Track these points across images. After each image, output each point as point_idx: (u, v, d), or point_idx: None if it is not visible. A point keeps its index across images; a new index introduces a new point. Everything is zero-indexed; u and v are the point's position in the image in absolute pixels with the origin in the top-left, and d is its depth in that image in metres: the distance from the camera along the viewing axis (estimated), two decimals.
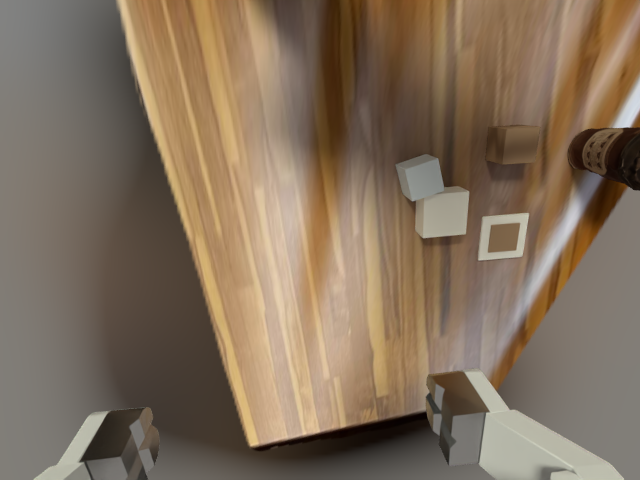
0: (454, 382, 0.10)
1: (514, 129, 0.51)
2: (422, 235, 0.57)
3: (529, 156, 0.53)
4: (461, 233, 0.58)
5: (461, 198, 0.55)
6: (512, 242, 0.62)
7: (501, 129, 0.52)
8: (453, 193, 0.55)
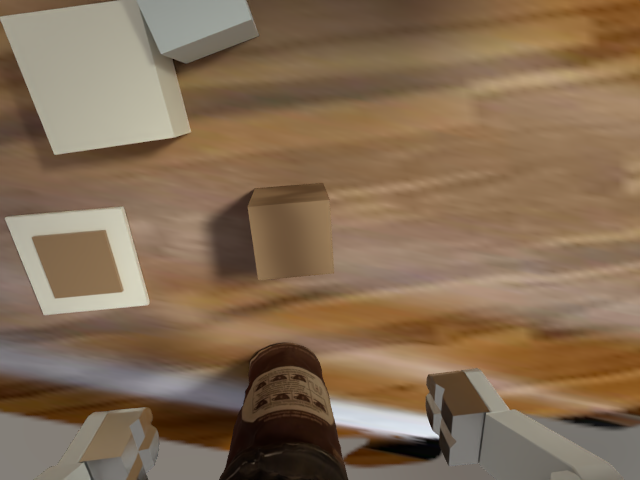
0: (454, 382, 0.10)
1: (328, 218, 0.22)
2: None
3: (269, 265, 0.23)
4: (52, 141, 0.21)
5: (151, 119, 0.21)
6: (72, 286, 0.27)
7: (325, 194, 0.23)
8: (160, 92, 0.20)
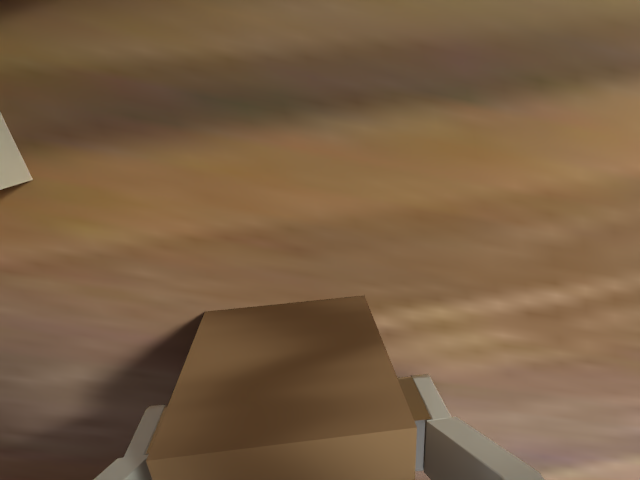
0: (401, 388, 0.10)
1: (408, 470, 0.07)
2: None
3: None
4: None
5: None
6: None
7: (390, 378, 0.08)
8: None
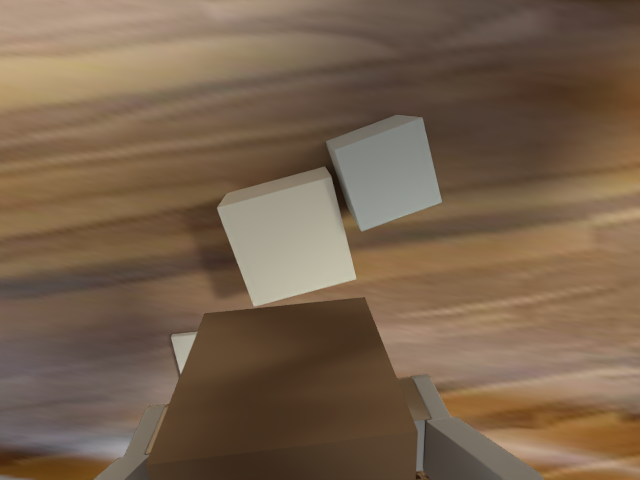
0: None
1: (409, 474, 0.07)
2: (223, 205, 0.22)
3: None
4: (253, 296, 0.24)
5: (337, 267, 0.23)
6: None
7: (391, 382, 0.08)
8: (346, 245, 0.23)
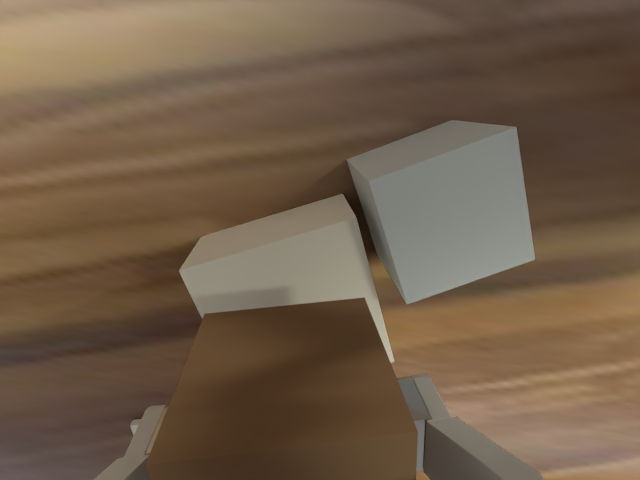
0: None
1: (409, 475, 0.07)
2: (189, 265, 0.14)
3: None
4: None
5: None
6: None
7: (391, 382, 0.08)
8: (379, 316, 0.15)
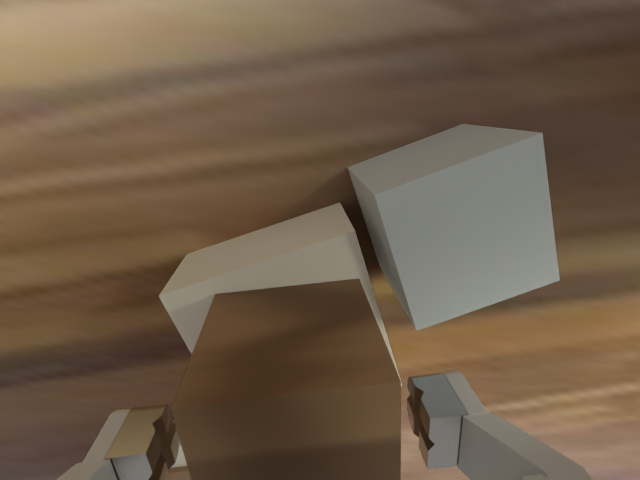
0: (434, 385, 0.10)
1: (394, 421, 0.08)
2: (171, 289, 0.12)
3: None
4: None
5: None
6: None
7: (380, 345, 0.09)
8: (384, 338, 0.14)
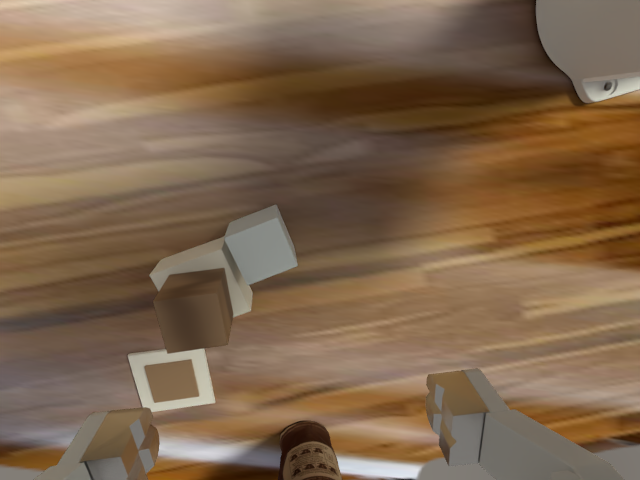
0: (454, 382, 0.10)
1: (218, 305, 0.29)
2: (153, 272, 0.33)
3: (174, 342, 0.30)
4: None
5: (236, 304, 0.35)
6: (166, 394, 0.41)
7: (217, 285, 0.30)
8: (239, 290, 0.35)
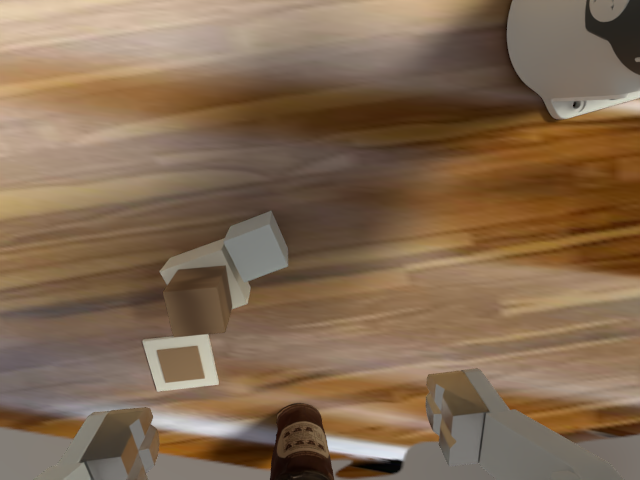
0: (454, 382, 0.10)
1: (217, 298, 0.34)
2: (163, 269, 0.38)
3: (179, 327, 0.35)
4: None
5: (234, 298, 0.40)
6: (176, 376, 0.47)
7: (218, 281, 0.35)
8: (237, 285, 0.39)
